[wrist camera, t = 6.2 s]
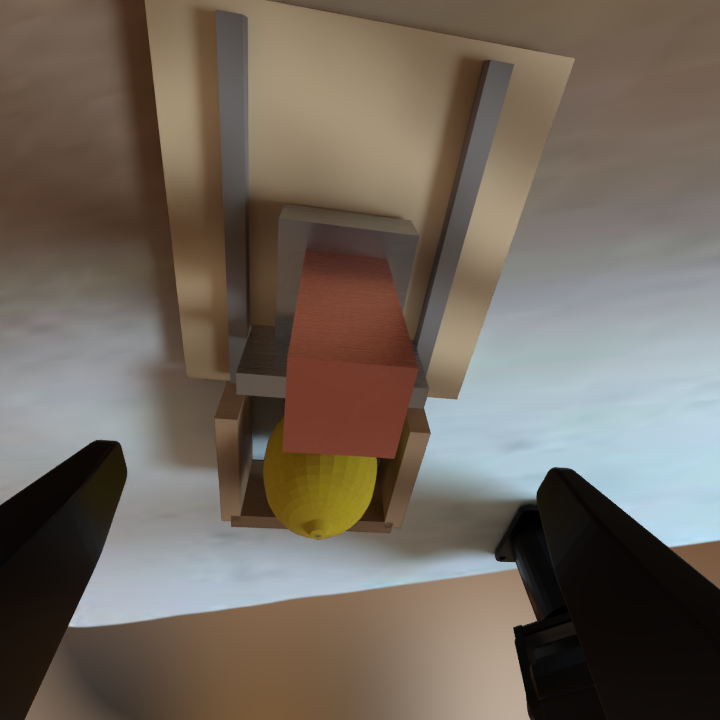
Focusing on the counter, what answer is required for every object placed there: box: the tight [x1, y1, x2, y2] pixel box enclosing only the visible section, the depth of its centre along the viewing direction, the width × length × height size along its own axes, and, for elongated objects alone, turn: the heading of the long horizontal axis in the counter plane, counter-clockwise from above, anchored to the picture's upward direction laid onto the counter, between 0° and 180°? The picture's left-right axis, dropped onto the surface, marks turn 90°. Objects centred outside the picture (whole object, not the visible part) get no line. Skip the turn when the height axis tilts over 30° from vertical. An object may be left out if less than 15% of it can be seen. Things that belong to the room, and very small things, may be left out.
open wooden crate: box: [215, 381, 431, 533], centre depth 23 cm, size 8×10×4 cm
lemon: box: [263, 417, 377, 540], centre depth 21 cm, size 6×6×8 cm
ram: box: [236, 204, 429, 459], centre depth 14 cm, size 6×7×9 cm
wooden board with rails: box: [145, 0, 575, 399], centre depth 18 cm, size 15×14×2 cm
